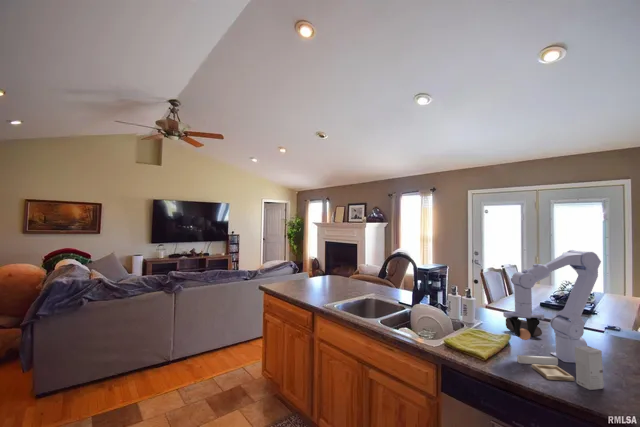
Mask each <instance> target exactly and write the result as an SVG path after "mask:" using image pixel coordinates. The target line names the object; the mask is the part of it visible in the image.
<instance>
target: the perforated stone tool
mask: <svg viewBox="0 0 640 427" xmlns="http://www.w3.org/2000/svg"><path fill="white" fill-rule="evenodd" d="M518 319H519V320H520V321H521V325H520V329H526V330H528V326H527V320H526V319H521V318H518ZM505 327H506V328H507V330H509V331H511V332H514V328H513V326H512V324H511V322H510V320H509V318H505ZM542 335H543V331H542V329H541V327H539V325H538V326H537V327H536V329H535V332H534V335H533V337H541V336H542Z"/></svg>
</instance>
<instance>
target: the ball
mask: <svg viewBox="0 0 640 427" xmlns="http://www.w3.org/2000/svg"><path fill="white" fill-rule="evenodd" d="M518 338H519V339H521V340H522V341H528V340H530V339H531V338H532V337H531V335H530V332H529V331H528V330H526V329H520V337H518Z"/></svg>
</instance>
